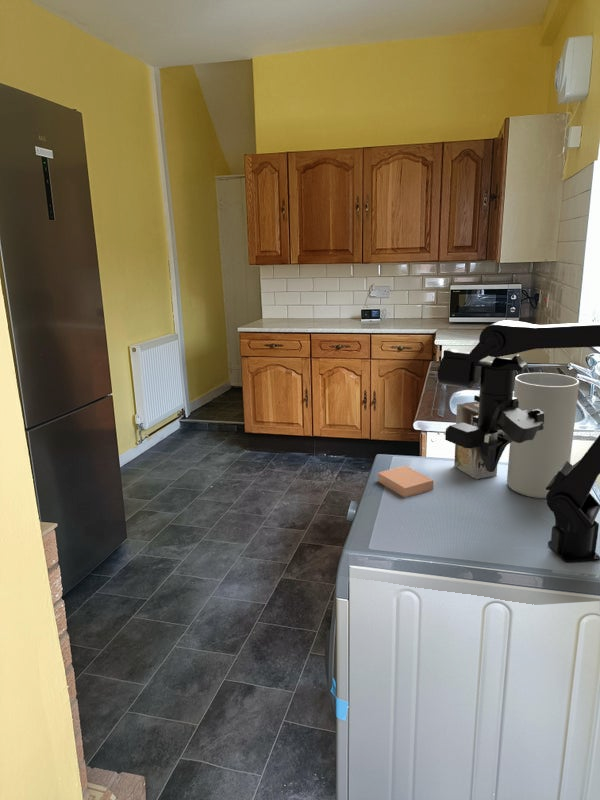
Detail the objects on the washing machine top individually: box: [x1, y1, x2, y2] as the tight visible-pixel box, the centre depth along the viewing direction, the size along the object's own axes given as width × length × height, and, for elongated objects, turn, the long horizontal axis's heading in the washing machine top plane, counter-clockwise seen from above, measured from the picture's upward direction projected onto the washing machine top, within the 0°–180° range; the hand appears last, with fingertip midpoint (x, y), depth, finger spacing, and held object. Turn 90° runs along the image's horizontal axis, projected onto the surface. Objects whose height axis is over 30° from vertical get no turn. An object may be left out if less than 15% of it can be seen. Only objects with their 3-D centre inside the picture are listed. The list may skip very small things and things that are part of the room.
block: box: [377, 465, 434, 498], centre depth 131 cm, size 3×8×10 cm
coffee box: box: [454, 401, 499, 480], centre depth 136 cm, size 9×6×16 cm
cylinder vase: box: [506, 372, 580, 499], centre depth 125 cm, size 12×12×25 cm
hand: (490, 471), depth 108 cm, fingers closed
